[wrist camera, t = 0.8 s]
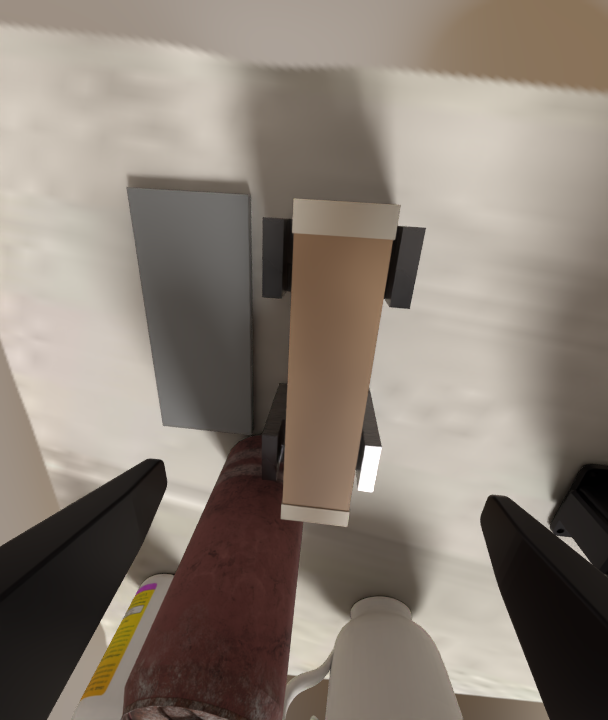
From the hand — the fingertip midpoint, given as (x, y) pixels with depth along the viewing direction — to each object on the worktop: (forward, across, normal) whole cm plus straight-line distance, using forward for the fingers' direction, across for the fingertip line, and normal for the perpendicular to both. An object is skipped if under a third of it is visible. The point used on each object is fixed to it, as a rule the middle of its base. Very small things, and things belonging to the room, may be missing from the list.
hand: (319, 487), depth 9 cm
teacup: (+12, -6, +27) cm, 30 cm away
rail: (+8, 0, 0) cm, 8 cm away
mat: (+12, +8, 0) cm, 14 cm away
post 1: (+12, 0, -5) cm, 13 cm away
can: (+12, +4, +10) cm, 16 cm away
